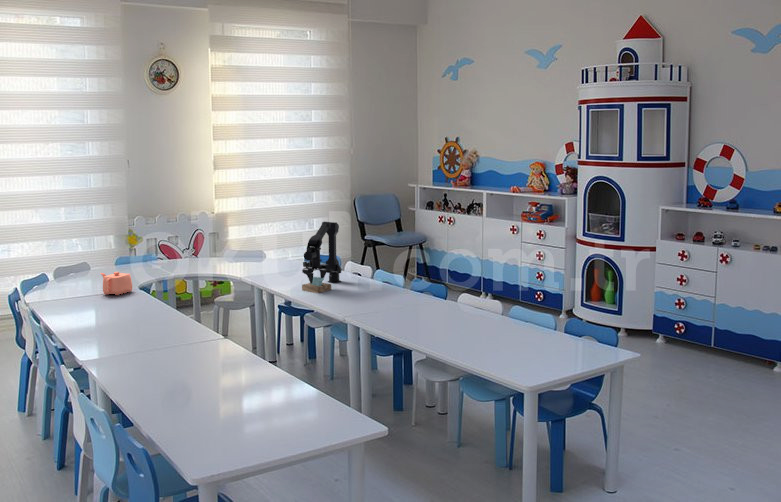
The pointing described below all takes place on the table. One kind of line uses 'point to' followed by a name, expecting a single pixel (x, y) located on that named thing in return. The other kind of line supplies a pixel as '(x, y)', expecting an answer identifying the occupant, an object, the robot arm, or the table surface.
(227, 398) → the table surface
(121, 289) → the teapot
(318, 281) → the bracket
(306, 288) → the well block
